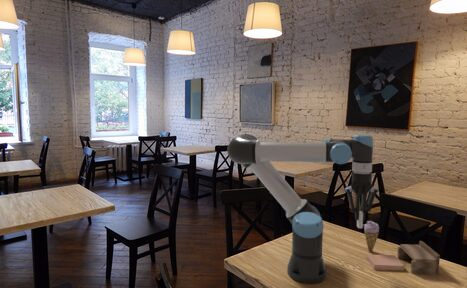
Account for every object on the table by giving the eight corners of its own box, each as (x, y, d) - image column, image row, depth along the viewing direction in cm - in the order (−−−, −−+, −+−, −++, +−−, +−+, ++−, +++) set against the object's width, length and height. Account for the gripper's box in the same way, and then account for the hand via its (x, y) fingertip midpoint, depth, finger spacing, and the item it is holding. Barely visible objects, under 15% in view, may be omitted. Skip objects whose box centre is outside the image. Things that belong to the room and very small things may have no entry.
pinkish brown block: (373, 270, 126) (374, 264, 125) (366, 259, 134) (366, 254, 134) (404, 271, 125) (404, 265, 124) (394, 260, 133) (394, 255, 133)
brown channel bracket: (412, 273, 122) (413, 254, 121) (397, 257, 135) (398, 240, 134) (438, 274, 121) (439, 255, 120) (421, 258, 134) (422, 241, 134)
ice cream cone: (359, 251, 142) (361, 219, 140) (364, 246, 146) (366, 216, 144) (374, 255, 137) (376, 223, 135) (379, 251, 142) (381, 219, 140)
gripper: (348, 173, 123) (346, 230, 126) (381, 174, 122) (379, 231, 124) (343, 170, 130) (341, 223, 133) (374, 170, 129) (372, 224, 132)
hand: (359, 227), depth 129 cm, fingers closed
